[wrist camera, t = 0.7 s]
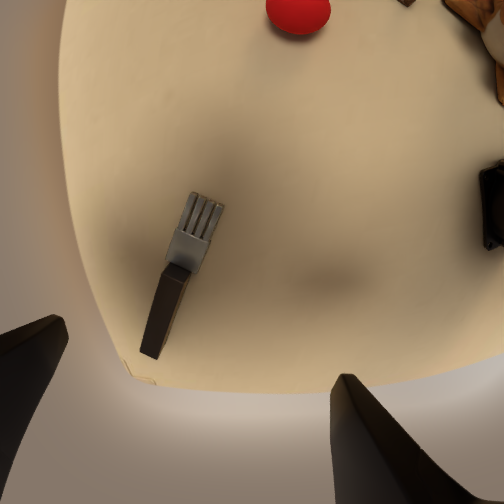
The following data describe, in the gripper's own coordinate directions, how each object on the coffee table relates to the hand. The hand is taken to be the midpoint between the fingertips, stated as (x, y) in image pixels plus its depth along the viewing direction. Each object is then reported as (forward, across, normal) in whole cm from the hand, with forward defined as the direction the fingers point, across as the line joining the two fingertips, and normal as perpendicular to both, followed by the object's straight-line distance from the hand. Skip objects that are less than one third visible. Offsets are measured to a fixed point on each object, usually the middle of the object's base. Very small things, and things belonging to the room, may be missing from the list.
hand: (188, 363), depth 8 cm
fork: (+11, +4, +4) cm, 13 cm away
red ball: (+9, -2, -15) cm, 17 cm away
